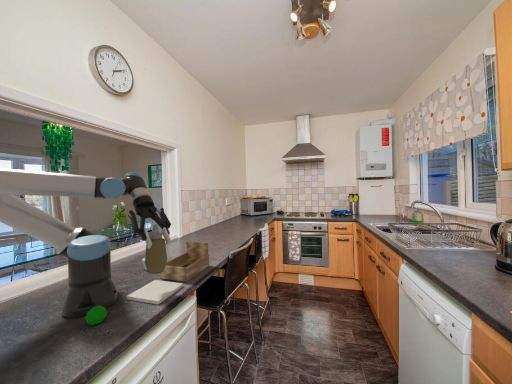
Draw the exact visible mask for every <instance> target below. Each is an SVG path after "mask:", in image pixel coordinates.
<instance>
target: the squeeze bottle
mask: <svg viewBox="0 0 512 384" xmlns="http://www.w3.org/2000/svg"><path fill="white" fill-rule="evenodd" d="M152 227H153V228H152V231H151V233H150V234H149V233H148V234H149V237H150V239H151V242H152V246H151V248H149V249H148V247H147V244H146V243H145V244H146V245H145V253H144V254H145V255H144V257H145V266H146V268H147V270H146V271H147V272H148V273H150V274H156V273H160V272H161V271H163V270H164V269H165V266H166V263H167V262H168V255H167V246H166V245H167V244H166V241H165V239H164V237H163V234H162V232H160V231H159V225H158V224H157V223H156V224H153V226H152Z"/></svg>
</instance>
